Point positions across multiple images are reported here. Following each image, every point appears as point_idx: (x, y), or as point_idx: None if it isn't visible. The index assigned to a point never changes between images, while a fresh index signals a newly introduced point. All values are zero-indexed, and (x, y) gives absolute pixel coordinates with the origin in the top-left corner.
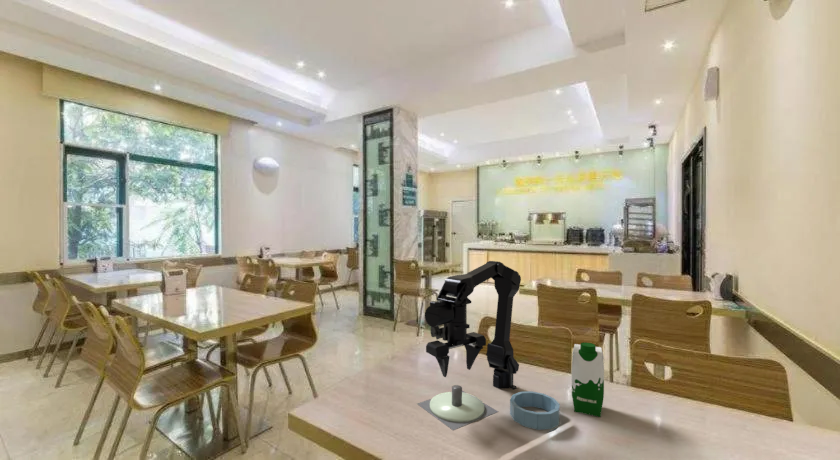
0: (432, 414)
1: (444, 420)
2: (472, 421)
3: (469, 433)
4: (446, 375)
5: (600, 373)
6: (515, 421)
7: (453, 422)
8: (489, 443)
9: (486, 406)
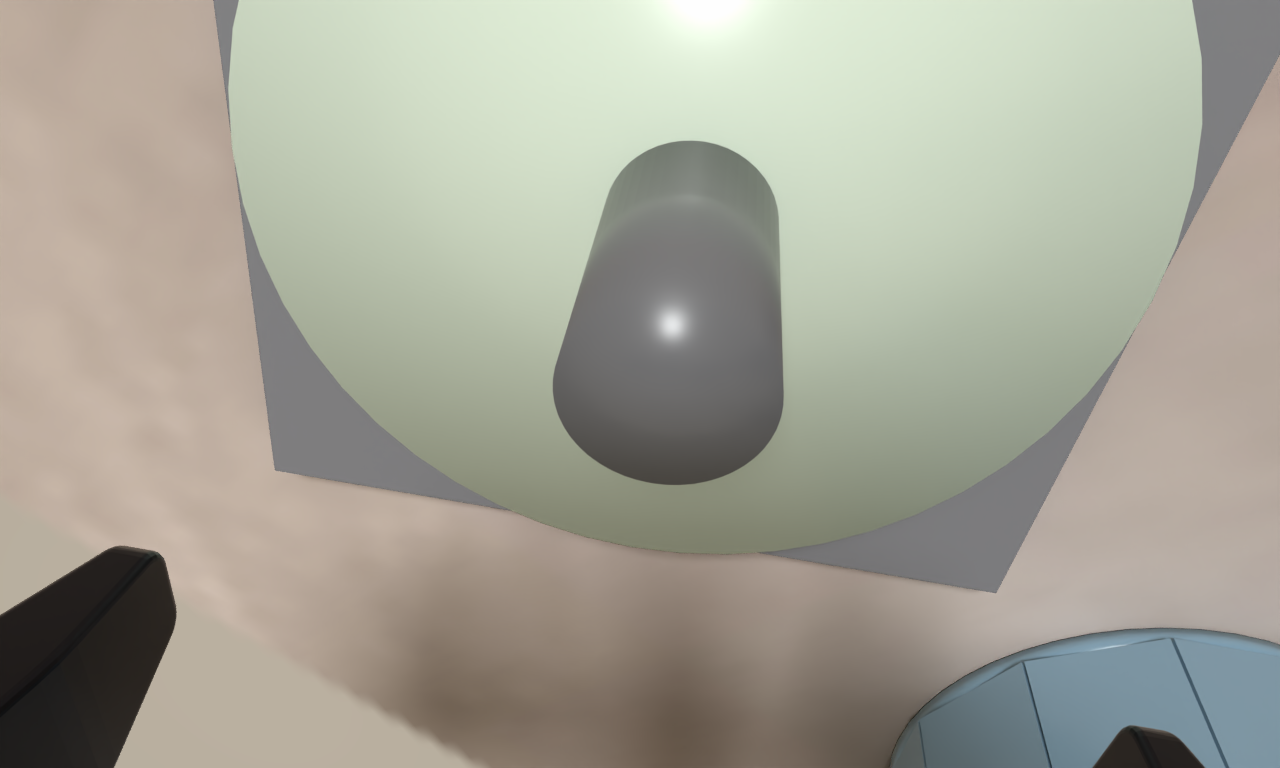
0: None
1: None
2: None
3: (446, 532)
4: (147, 676)
5: None
6: (915, 744)
7: None
8: (485, 685)
9: (1023, 458)
